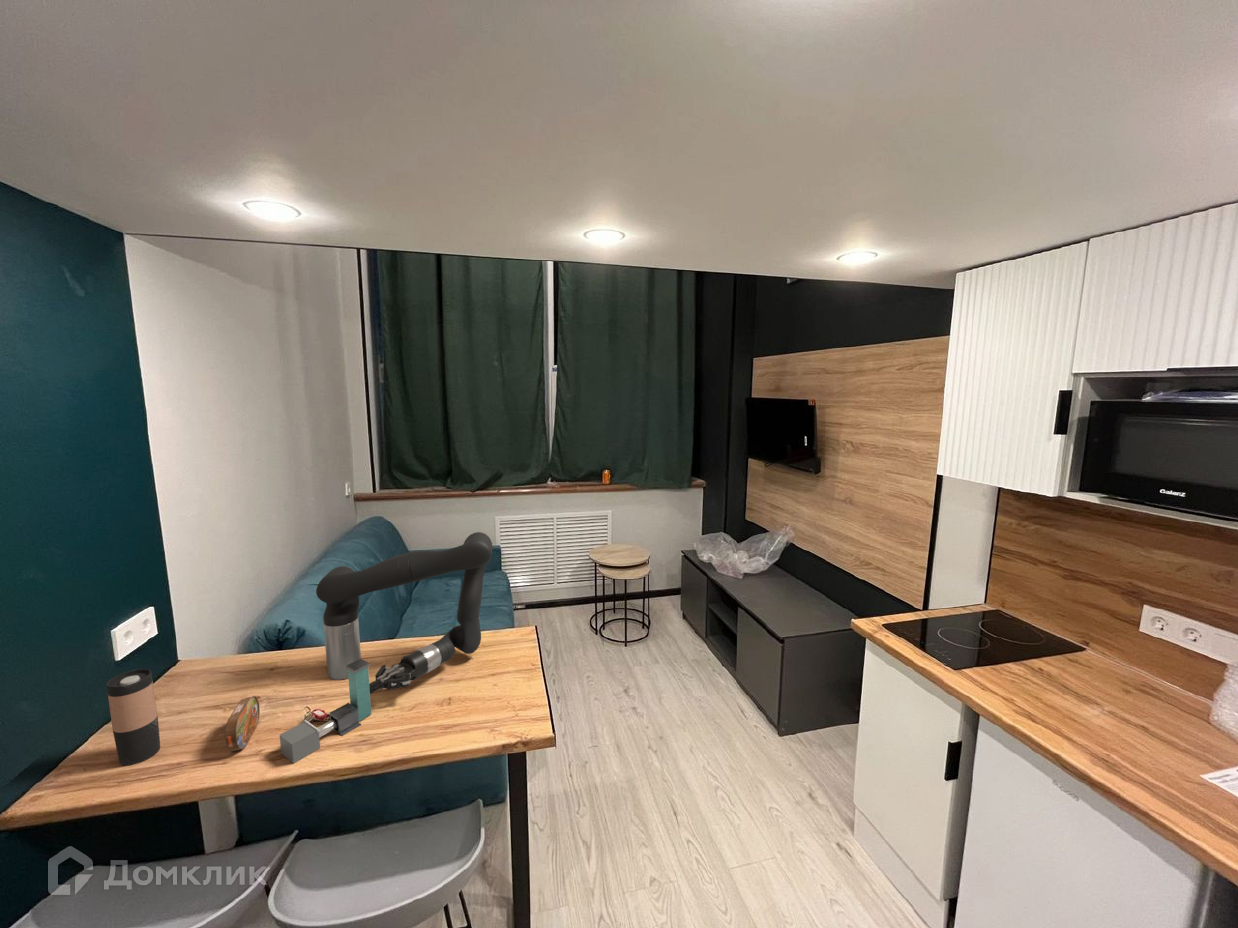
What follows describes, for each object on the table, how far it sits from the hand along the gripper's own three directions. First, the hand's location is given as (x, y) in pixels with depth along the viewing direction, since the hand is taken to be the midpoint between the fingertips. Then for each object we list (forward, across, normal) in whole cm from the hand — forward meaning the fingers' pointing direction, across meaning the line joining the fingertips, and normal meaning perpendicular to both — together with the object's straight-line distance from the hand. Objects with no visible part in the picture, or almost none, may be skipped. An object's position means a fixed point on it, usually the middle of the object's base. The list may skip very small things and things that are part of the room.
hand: (366, 690), depth 133 cm
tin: (+22, -17, +7) cm, 29 cm away
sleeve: (+6, 0, +6) cm, 9 cm away
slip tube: (+9, 0, +6) cm, 11 cm away
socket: (+17, 0, +6) cm, 18 cm away
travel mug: (+38, -31, +7) cm, 50 cm away
